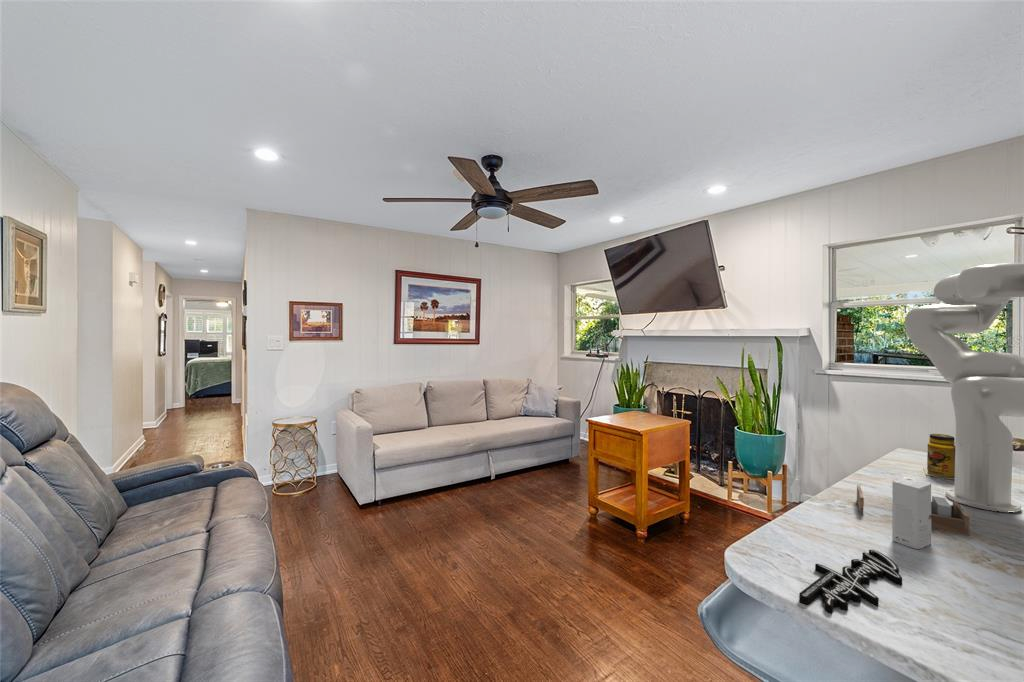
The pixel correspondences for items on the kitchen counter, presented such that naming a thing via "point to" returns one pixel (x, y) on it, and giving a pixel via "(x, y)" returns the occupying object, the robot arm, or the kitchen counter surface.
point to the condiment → (941, 456)
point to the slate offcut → (940, 507)
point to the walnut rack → (937, 517)
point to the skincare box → (911, 513)
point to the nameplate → (851, 581)
